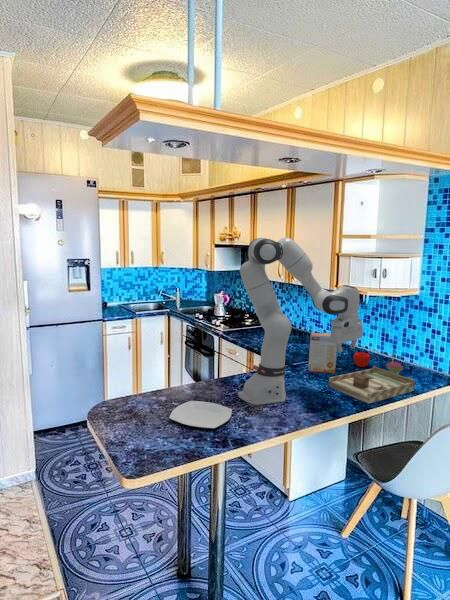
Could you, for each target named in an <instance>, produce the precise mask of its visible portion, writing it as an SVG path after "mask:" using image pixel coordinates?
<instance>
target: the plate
mask: <svg viewBox="0 0 450 600" xmlns="http://www.w3.org/2000/svg"><path fill="white" fill-rule="evenodd" d="M232 413H233V409H232V408H230V407H227V406H224V405H221V404H219V403H214V402H210V401H209V402H208V401H199V400H189V401H187V402H184V403H181V404H179V405H178V406H176V407H174V409H173V410H172V411H171V413H170V415H169V417H168V419H169V420H171V421H175V422H176V423H179V424H181V425H185V426H187V427H193V428H194V427H195V428H200V429H202V428H203V429H214V430H215V429H216V428H218V427H220V426H222V425H224V424H225V423H227V422H228V421H229V420H230V418H231V417H232V415H233V414H232Z"/></svg>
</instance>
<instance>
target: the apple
mask: <svg viewBox="0 0 450 600" xmlns="http://www.w3.org/2000/svg"><path fill="white" fill-rule="evenodd" d="M370 359H371V356H370V354H368V353H366V352H355V353H354V354H353V361H354V363H355V365H356V366H357V367H359V368H366V367H367V366H368V364H369V363H370Z"/></svg>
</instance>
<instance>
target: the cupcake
mask: <svg viewBox="0 0 450 600" xmlns="http://www.w3.org/2000/svg"><path fill="white" fill-rule="evenodd" d="M403 366H404V365H402V364H401V363H400V362H398V361H397V362H396V361H394V354H393V353H391V361H389V362H387V363H386V365H385V368H386V369H387V371H389V372H392V373H395V374H398V375H400V372H401V371H403V370H404V367H403Z"/></svg>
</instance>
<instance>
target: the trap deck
mask: <svg viewBox="0 0 450 600" xmlns="http://www.w3.org/2000/svg"><path fill="white" fill-rule="evenodd" d="M359 374H362V375H364V376H367V377H369V386H368V388H364V389H360V388H358V387H355V386H353V381H354V376H355V375H359ZM415 384H416V380H415V379H412V378H409V377H406V376H404V375H400V374H399V375H398V374H395V373H392V372H389V371H388V370H387V369H383V368H380V367H378V366H377V367H376V366H374V365H373V366H372V368H369V369H362V370H359V371H353V372H349V373H343V374H340V375H335V376H331V377H328V386H327V387H329V388H331V389H333V390H336V391H338V392H341V393H343V394H345V395H348V396H350V397H352V398H355V400H356V399H357V400H359V401H361V402H364V403H366V404H368V405H369V404H372V403H377V402H380V401H384V400H388V399H391V398H394V397H398V396H401V395H405V394H409V393H412V391H413V392H415Z"/></svg>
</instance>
